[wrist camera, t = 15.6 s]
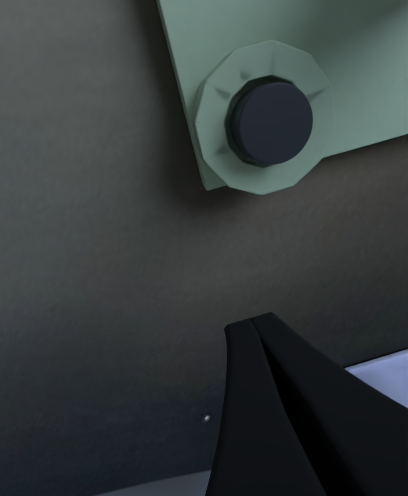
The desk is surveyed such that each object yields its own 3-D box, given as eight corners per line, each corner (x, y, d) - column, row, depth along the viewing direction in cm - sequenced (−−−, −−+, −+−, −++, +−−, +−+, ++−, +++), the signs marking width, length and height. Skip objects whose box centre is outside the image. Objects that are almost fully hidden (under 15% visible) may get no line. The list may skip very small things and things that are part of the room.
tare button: (293, 76, 14) (309, 72, 12) (302, 149, 15) (317, 153, 14) (223, 95, 14) (231, 93, 12) (237, 167, 15) (246, 173, 14)
